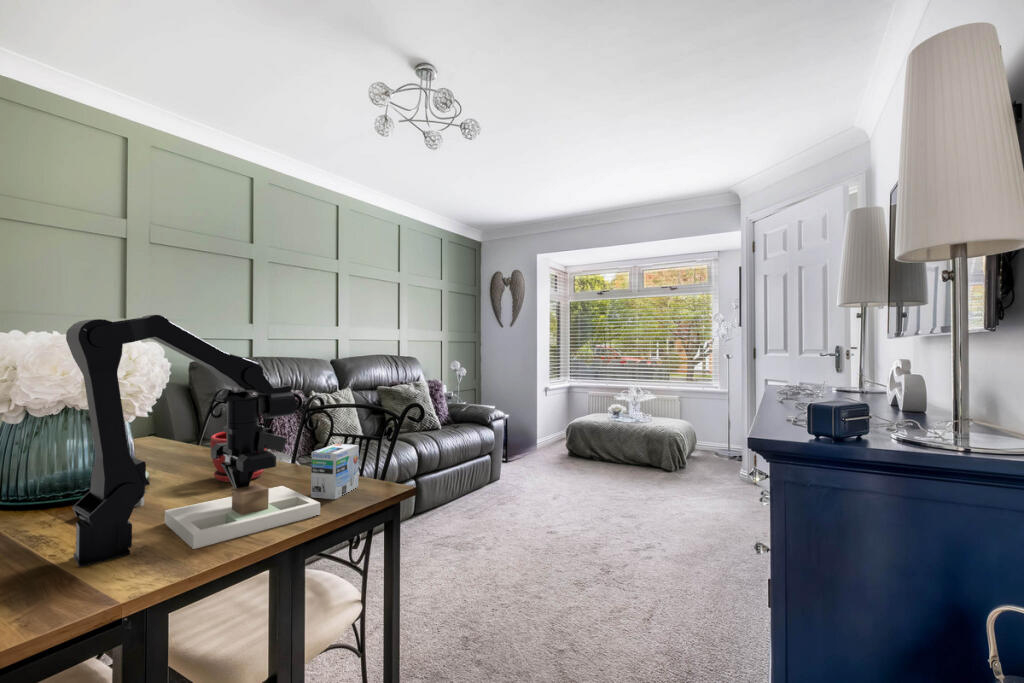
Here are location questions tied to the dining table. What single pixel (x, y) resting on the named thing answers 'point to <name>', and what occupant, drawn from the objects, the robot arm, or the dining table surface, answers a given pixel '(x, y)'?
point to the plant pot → (220, 472)
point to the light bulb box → (334, 471)
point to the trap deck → (237, 517)
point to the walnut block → (250, 499)
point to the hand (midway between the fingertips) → (241, 496)
